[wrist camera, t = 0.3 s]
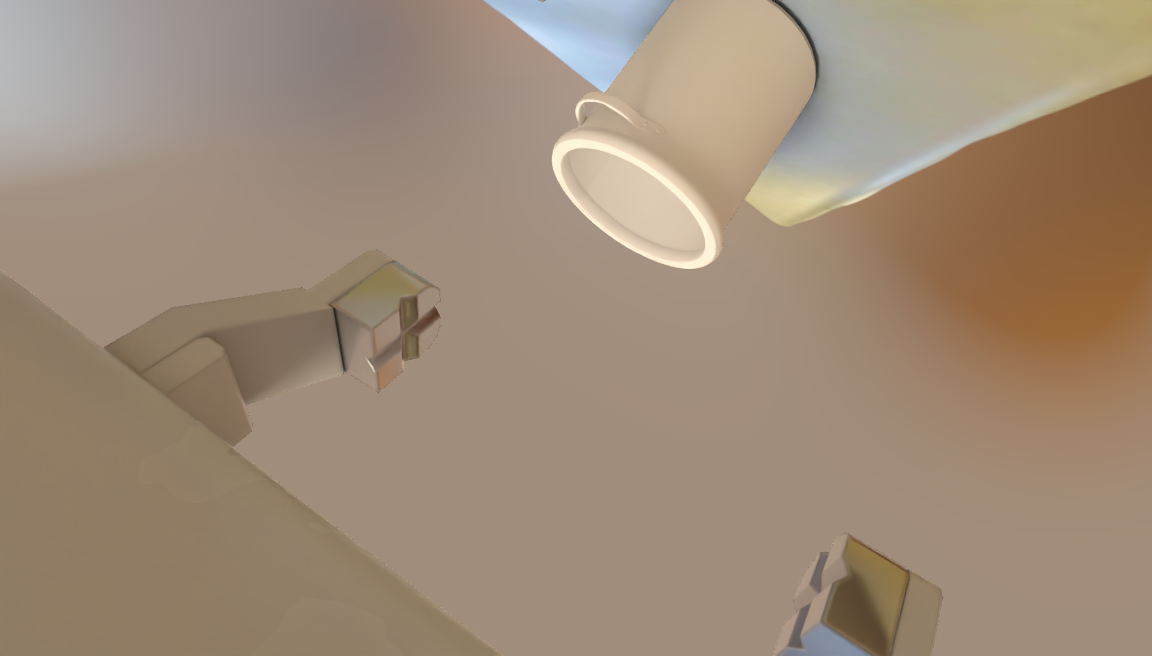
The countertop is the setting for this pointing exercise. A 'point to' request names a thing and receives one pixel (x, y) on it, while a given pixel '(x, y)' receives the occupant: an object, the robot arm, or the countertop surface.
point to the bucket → (687, 127)
